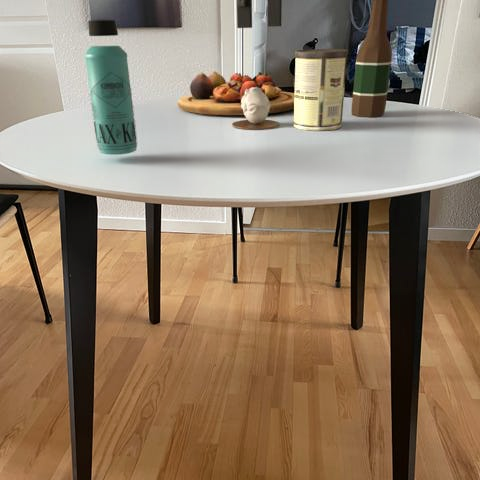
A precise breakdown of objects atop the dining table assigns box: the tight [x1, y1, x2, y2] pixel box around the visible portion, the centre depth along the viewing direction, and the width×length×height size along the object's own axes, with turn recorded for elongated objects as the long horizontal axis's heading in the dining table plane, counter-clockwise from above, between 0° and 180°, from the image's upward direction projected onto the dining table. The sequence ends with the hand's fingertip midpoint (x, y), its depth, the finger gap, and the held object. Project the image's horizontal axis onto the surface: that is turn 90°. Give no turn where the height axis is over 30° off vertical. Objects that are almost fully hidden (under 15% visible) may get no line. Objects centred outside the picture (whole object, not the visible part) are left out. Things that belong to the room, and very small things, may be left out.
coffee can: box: [292, 48, 349, 132], centre depth 101 cm, size 10×10×14 cm
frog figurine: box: [241, 87, 270, 124], centre depth 105 cm, size 6×7×7 cm
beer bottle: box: [351, 0, 393, 118], centre depth 110 cm, size 8×8×24 cm
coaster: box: [232, 119, 280, 131], centre depth 107 cm, size 10×10×1 cm
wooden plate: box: [177, 71, 295, 116], centre depth 126 cm, size 32×32×8 cm
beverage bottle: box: [84, 18, 139, 156], centre depth 77 cm, size 6×7×20 cm
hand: (260, 27), depth 97 cm, fingers open, 13 cm apart
